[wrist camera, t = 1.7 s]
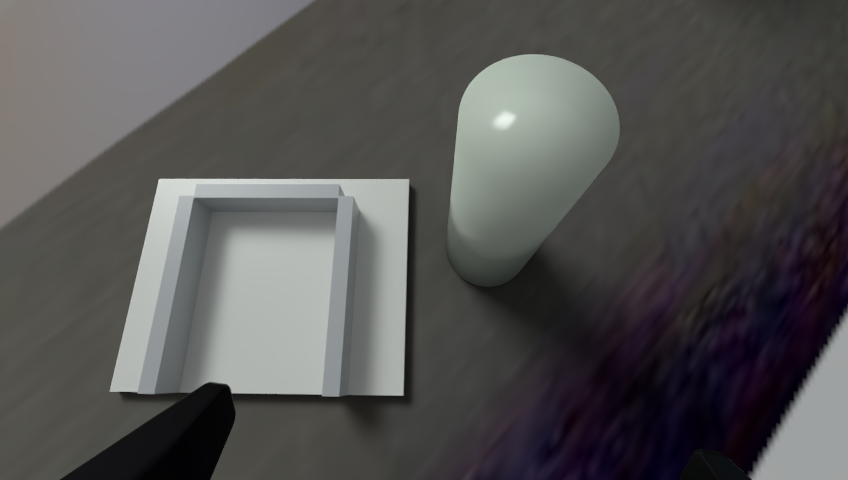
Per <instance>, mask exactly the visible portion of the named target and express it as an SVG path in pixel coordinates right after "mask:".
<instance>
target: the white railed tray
mask: <svg viewBox="0 0 848 480" xmlns="http://www.w3.org/2000/svg"><path fill="white" fill-rule="evenodd" d="M408 221H409V179H159V182H158V187H157V191H156V195H155V199H154V204H153V208H152V212H151V217H150V221H149V225H148V229H147V234H146V238H145V242H144V247H143V251H142V255H141V259H140V264H139V268H138V272H137V277H136V281H135V285H134V289H133V294H132V298H131V302H130V307H129V311H128V315H127V319H126V324H125V328H124V332H123V337H122V341H121V345H120V349H119V354H118V358H117V362H116V367H115V371H114V375H113V379H112V384H111V388H110V392H137V394H163V393H191V392H193V391H194V390H196V389H197V388H199V387H200V386H202V385H203V384H205V383H208V382H216V383H223V384H228V385H229V387H230V388H231V393H247V394H319V395H322V396H329V397H340V396H345V395H391V396H404V378H405V339H406V299H407V260H408Z"/></svg>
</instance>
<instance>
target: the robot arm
mask: <svg viewBox="0 0 848 480" xmlns="http://www.w3.org/2000/svg"><path fill="white" fill-rule="evenodd" d="M235 414H236V413H235V407H234V402H233V397H232V393H231V388H230V387H229V385H228V384H223V383H216V382H208V383H205V384H203V385H202V386H200V387H199V388H197V389H196V390H194V391H193V392H191V393H190V394H188V395H187V396H185V397H184V398H182V399H181V400H179V401H178V402H176V403H175V404H173V405H172V406H170V407H169V408H167V409H166V410H164V411H163V412H161V413H160V414H158V415H157V416H155V417H154V418H152V419H151V420H149V421H148V422H146V423H145V424H143V425H142V426H140V427H138V428H137V429H135V430H134V431H132V432H131V433H129V434H128V435H126V436H125V437H123V438H122V439H120V440H119V441H117V442H116V443H114V444H113V445H111V446H110V447H108V448H107V449H105V450H104V451H102V452H101V453H99V454H98V455H96V456H95V457H93V458H92V459H90V460H89V461H87V462H86V463H84V464H83V465H81V466H80V467H78V468H77V469H75V470H74V471H72V472H71V473H69V474H68V475H66V476H65V477H63V478H62V479H60V480H210V479H211V477H212V474H213V472H214V469H215V467H216V465H217V462H218V460H219V458H220V455H221V453H222V450H223V448H224V446H225V443H226V441H227V438H228V436H229V434H230V431H231V429H232V427H233V424H234V421H235ZM680 480H752V479H750V478H749V477H748V476H747V475H746V474H745V473H744V472H743V471H742V470H741V469H740V468H739V467H737V466H736V465H735V464H734V463H733V462H732V461H731V460H730V459H729V458H728V457H726V456H725V455H724V454H722V453H720V452H717V451H710V450H703V449H698V450H696V451H694V452H693V454H692V456H691V457H690V459H689V461H688V463H687V464H686V466H685V468H684V470H683V471H682V473H681V476H680Z"/></svg>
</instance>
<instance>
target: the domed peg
mask: <svg viewBox="0 0 848 480" xmlns="http://www.w3.org/2000/svg"><path fill="white" fill-rule="evenodd" d="M619 131H620V125H619V117H618V112H617V109H616V106H615V104H614V101H613V99H612V98H611V96H610V94H609V92H608V91H607V90H606V88H605V87H604V86H603V85H602V84H601V83H600V81H599V80H598V79H597V78H595V77H594V76H593V75H592V74H591V73H589V72H588V71H586V70H585V69H583V68H582V67H580V66H578V65H576V64H574V63H572V62H570V61H567V60H564V59H561V58H557V57H553V56H547V55H536V54H530V55H520V56H514V57H510V58H507V59H503V60H501V61H499V62H496V63H494V64H492V65H491V66H489V67H487V68H486V69H485V70H483V71H482V72H480V73H479V74H478V75H477V76H476V77H475V78H474V79H473V81H472V82H471V83H470V84H469V86H468V87H467V89H466V91H465V93H464V95H463V98H462V100H461V104H460V108H459V116H458V126H457V137H456V147H455V158H454V168H453V179H452V189H451V200H450V210H449V221H448V231H447V242H446V252H447V257H448V260H449V262H450V264H451V266H452V268H453V269H454V271H455V272H456V273H457V274H458V275H459V276H460V277H461V278H462V279H464V280H466V281H467V282H469V283H471V284H474V285H477V286H482V287H494V286H499V285H502V284H504V283H507V282H508V281H510V280H511V279H513V278H514V277H515V276H516V275H517V274H518V273H519V272H520V271H521V269H522V268H523V267H524V266H525V264H526V263H527V262H528V261H529V259H530V258H531V257H532V256H533V255H534V253H535V252H536V251H537V250H538V248H539V247H540V246H541V245H542V243H543V242H544V241H545V240H546V239H547V237H548V236H549V235H550V234H551V232H552V231H553V230H554V229H555V227H556V226H557V225H558V224H559V222H560V221H561V220H562V219H563V218H564V216H565V215H566V214H567V213H568V211H569V210H570V209H571V208H572V206H573V205H574V204H575V203H576V202H577V200H578V199H579V198H580V197H581V195H582V194H583V193H584V192H585V190H586V189H587V188H588V187H589V186H590V184H591V183H592V182H593V181H594V179H595V178H596V177H597V176H598V174H599V173H600V172H601V171H602V170H603V168H604V167H605V166H606V165H607V163H608V162H609V161H610V159H611V157H612V156H613V154H614V152H615V149H616V147H617V143H618V139H619Z"/></svg>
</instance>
